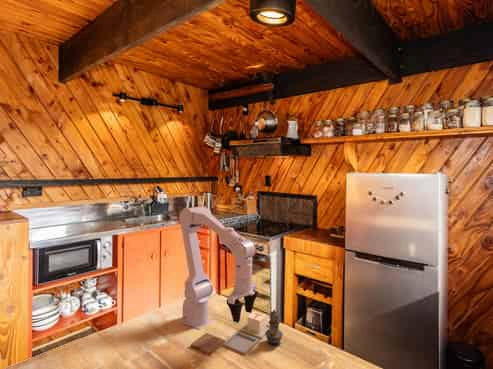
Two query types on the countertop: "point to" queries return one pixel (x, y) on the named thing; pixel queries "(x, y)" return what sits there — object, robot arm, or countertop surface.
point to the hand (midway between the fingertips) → (242, 316)
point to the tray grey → (241, 342)
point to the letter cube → (256, 322)
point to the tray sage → (244, 330)
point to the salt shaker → (274, 330)
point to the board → (207, 343)
